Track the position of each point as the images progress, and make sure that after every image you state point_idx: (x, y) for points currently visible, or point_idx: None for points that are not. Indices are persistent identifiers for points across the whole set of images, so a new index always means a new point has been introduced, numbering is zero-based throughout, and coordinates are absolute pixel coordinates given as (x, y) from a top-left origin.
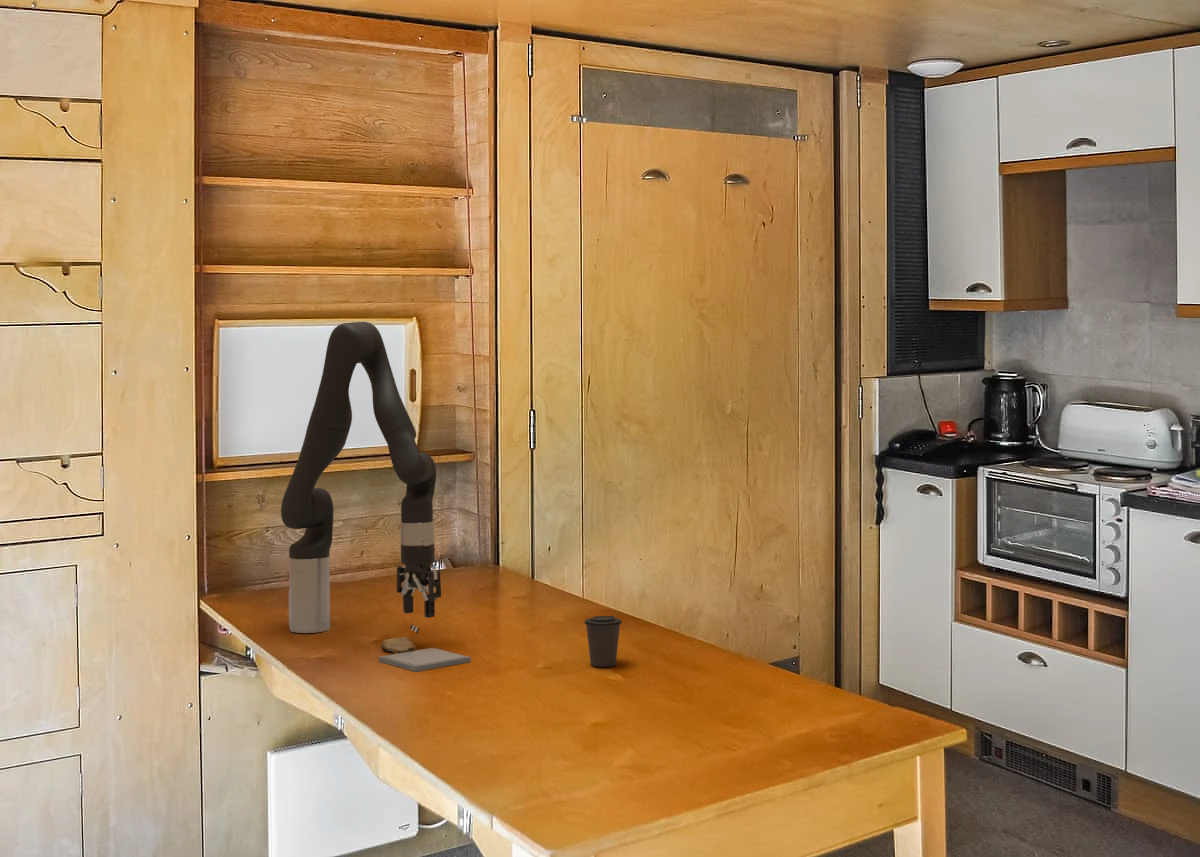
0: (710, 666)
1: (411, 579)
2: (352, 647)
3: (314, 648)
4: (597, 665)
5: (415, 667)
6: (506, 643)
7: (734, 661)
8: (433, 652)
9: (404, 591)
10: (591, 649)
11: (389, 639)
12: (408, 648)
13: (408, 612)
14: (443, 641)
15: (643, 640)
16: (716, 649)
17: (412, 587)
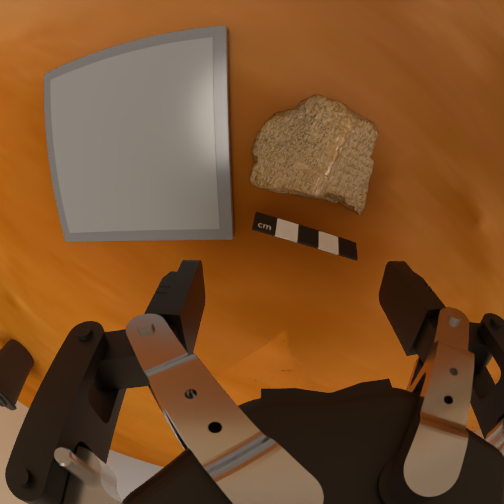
0: None
1: (393, 443)
2: (462, 113)
3: (496, 55)
4: (10, 340)
5: (46, 73)
6: None
7: (26, 402)
8: (159, 196)
9: (444, 333)
10: (2, 353)
11: (343, 131)
12: (258, 159)
13: (385, 276)
14: (337, 327)
15: (132, 445)
16: None
17: (365, 384)
